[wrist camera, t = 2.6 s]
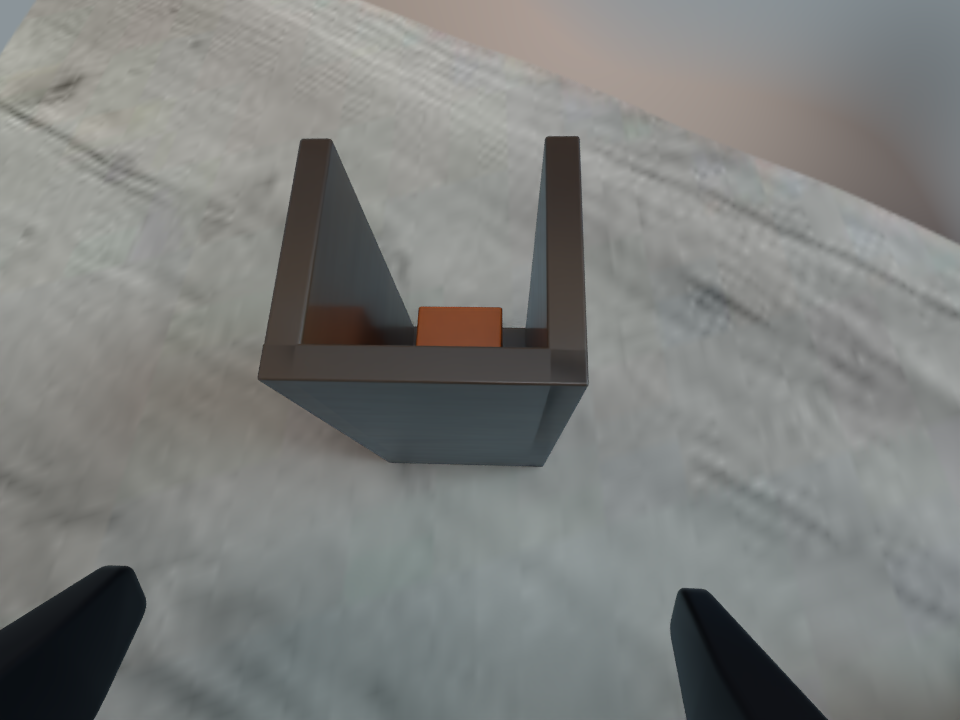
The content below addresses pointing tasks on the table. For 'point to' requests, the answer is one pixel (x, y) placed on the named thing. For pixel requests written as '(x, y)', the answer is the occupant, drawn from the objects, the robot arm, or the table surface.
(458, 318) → the block
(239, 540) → the table surface
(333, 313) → the scoop
